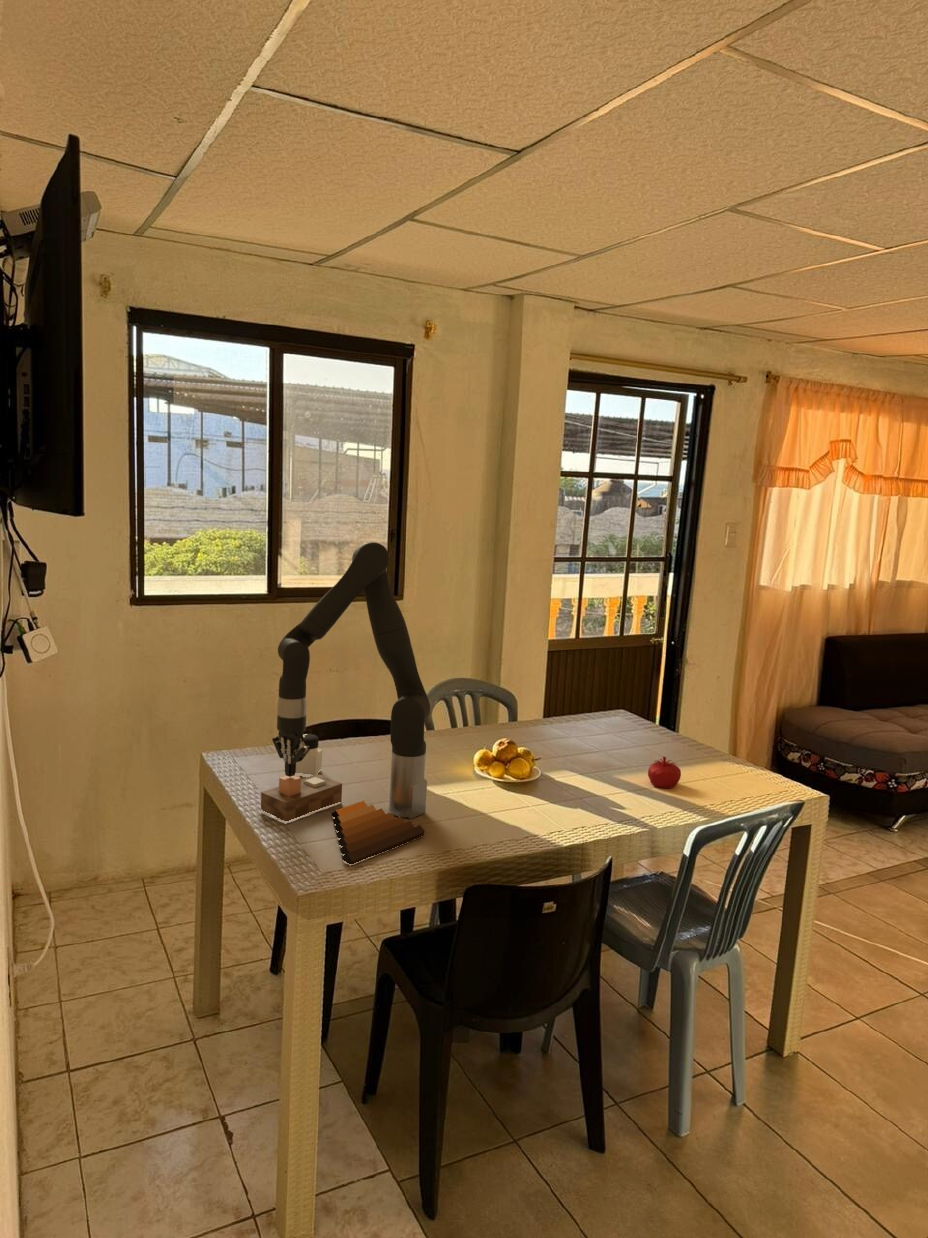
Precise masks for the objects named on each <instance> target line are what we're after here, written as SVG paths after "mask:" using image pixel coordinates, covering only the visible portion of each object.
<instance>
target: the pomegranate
mask: <svg viewBox="0 0 928 1238" xmlns="http://www.w3.org/2000/svg"><path fill="white" fill-rule="evenodd" d="M670 761H673V760H671V759H669V760H667V757H666V756H662V758H659V760H654V762H653V763H651V764H650V766H649V768H648V770H647V776H648V779H649V780H650V781H649V782H650V783H651V784H652V786H653V787H656V788H661V789H671V788H674V787H676V786H677V785H678V783H679V782H680V781H681V780H680V779H681V777H682V772H681V771H682V770H681V769H680V767H679V766H677V765H678V764H676V763H675V762H670Z"/></svg>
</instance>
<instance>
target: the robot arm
mask: <svg viewBox="0 0 928 1238" xmlns="http://www.w3.org/2000/svg"><path fill="white" fill-rule="evenodd" d="M389 564H390V553H389V551H388V550H387V548H386V547H385V546H384V545H383V544H381V543H379V542H375V541H369V542H364V543H362V544H360V545H359V546H357V547H356V548H355V550H354V551H353V553H352V557H351V563H350V565H349V567H348V568H347V570H346V571H345V572H344V573H343V575H342V576H341V577H340V579H339V580H338V581H336V583H335V584H334V585H333V586H332V587H331V589H329V590H328V591H327V592H326V593H325V594H324V595H323V596H322V597H321V598H320V599H319V600H318V601H317V602H316V603H315V604H314V606H313V607H312V608H311V610H309V612H308V613H307V614H306V615H305V617H304V618H303V619H302V621H300V622H299V623H298V624H297V625H296V626H294V627H293V628H292V629H291V630H290V631H289V632H288V633H287V634H285V635H284V636H283V638H282V639H281V640H280V642H279V644H278V647H277V654H278V657H279V658H280V659H281V660H282V675H281V676H280V678H279V680H278V700H277V711H276V713H277V714H276V730H277V731H278V735H277V736H275V737H272V739H271V740H272V743H273V745H274V747H275V751H276V752H277V755H278V757H279V759H282V760H283V762H284V776H289V777H291V776H294V775H295V773H296V762H300V761H302V760H303V758H304V757H305V756H306V754H307V753H308V752H309V750H310V747H309V746H306V745H305V744H304V737H303V735H304V733H305V730H306V729H307V705H308V704H307V678H308V672H309V667H310V659H311V656H310V654H311V653H310V649H309V647H311V646H312V644H313V643H314V642H315V641H319V640H322V639H323V638H325V636H326V635H327V634H328V632H329V631H330V630H331V629H332V628H333V626H334V625H335V624H336V623H337V621H338V620H339V619H340V618H341V616H343V614H344V612H346V610H347V609H348V608H349V606H350V605H351V604H352V603H353V601H354V600H355V599H356V598H357V597H358V596H359V595H360V594H361V593H362V592H363V595H364V598H365V603H366V608H367V613H368V619H369V623H370V626H371V631H372V636H373V640H374V642H375V646H376V649H377V652H378V654H379V656H380V658H381V660H382V662H383V663H384V664H385V666H386V668H387V669H388V672H390V676H391V677H392V679H393V683H394V687H395V691H396V697H397V700H396V701H395V703H394V704H393V705H392V709H391V713H390V744H391V759H390V760H391V763H390V764H391V765H390V781H389V783H390V785H389V808H388V811H390V812H391V813H392V814H394V815H393V816H395V815H397V816H396V817H398V816H401V818H405V817H408V818H407V819H410V820H411V818H412V819H414V818H416V816H417V817H419V816H421V815H424V814H425V813H426V811H427V810H426V808H427V791H428V790H427V789H428V788H427V787H428V780H427V779H425V776H426V775H425V774H426V773H425V771H426V755H427V742H426V741H425V724H426V723H425V722H426V721H427V719H428V717H429V716H430V713H431V703H430V700H429V698H428V695H427V692H426V689H425V688H424V684H423V682H422V679H421V676H420V673H419V670H418V666H417V662H416V658H415V653H414V649H413V646H412V643H411V642H412V641H411V638H410V634H409V630H408V627H407V623H406V621H405V617H404V616H403V613H402V611H401V608H400V605H399V604H398V602H397V601H396V598H395V597H394V596H395V595H393V592H392V589H391V584H390V579H389V575H388V572H387V571H388V570H387V569H388V567H389V566H390V565H389ZM293 755H294V757H293ZM390 812H389V813H390ZM423 813H424V814H423Z"/></svg>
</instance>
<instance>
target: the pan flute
mask: <svg viewBox="0 0 928 1238" xmlns="http://www.w3.org/2000/svg"><path fill="white" fill-rule="evenodd" d="M330 814H331V817H332V816H333V817H335V819H332V822H333V825H334V824H336V826H334V830H337V831H339V832H338V833H336V832H335V834H336V838H337V837H338V838H341V839H340V840H337V842H338V846H339V845H341V846H343V847H342V848H340V847H339V849H340V850H339V852H340V854H341V853H342V854H345V855H344V856H342V855H341V859H342V861H343V860H344V861H346V862H347V863H349V864H354V863H356V862H359V861H361V860H363V859H366V858H368V857H371V856H374V855H377V854H379V853H382V852H385V851H387V850H390V849H392V848H395V847H397V846H400V845H402V844H404V845H406V844H405V843H407V842H409V843H411V842H410V841H412V840H414V839H416V840H418V839H417V838H419V837H421V836H423V837H424V836H425V833H426V831H425V830H424V828H423V826H422V825H421V824H418V825H416V826H415V824H413V822H412V821H411V820H407V821H406V822H405V821H404V819H403V817H401V816H400V817H398V816H397V817H396V816H395V815H393V814H392V813H390V812H388V813H386V812H385V811H384V810H383V808H382V807H381V808H379V809H376V807H375V806H374V804H371V805H370V804H369V805H367V803H366V802H365V800H362V801H358V802H356V803H353V804H350V805H347V806H344V807H342V808H341V807H340V808H338V809H335V810H334V811H332V812H331V813H330ZM421 838H422V837H421ZM419 839H420V838H419ZM414 841H415V840H414ZM412 842H413V841H412ZM407 844H408V843H407ZM402 846H403V845H402ZM400 847H401V846H400ZM397 848H398V847H397ZM395 849H396V848H395ZM392 850H393V849H392ZM390 851H391V850H390ZM387 852H388V851H387ZM385 853H386V852H385Z"/></svg>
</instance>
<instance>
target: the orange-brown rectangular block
mask: <svg viewBox="0 0 928 1238" xmlns="http://www.w3.org/2000/svg"><path fill="white" fill-rule="evenodd" d="M301 779H302V777H297V776H295V775H294V776H291V777H289V776H286V775H284V776H280V777H279V779H278V782H279V783H278V787H279V793H281V794H284V795H286V796H288V797H289V796H292V795H295V794H298V793H300V792H301Z"/></svg>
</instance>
